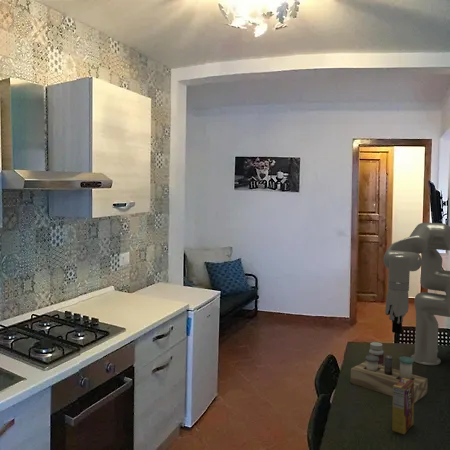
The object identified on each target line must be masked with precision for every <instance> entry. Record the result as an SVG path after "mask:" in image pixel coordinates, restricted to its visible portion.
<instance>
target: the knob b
mask: <svg viewBox="0 0 450 450" xmlns="http://www.w3.org/2000/svg"><path fill="white" fill-rule="evenodd" d="M398 361H399V371H400V377H399V379H400V380H401V379H402V378H405V379H410V380H412V374H413V364H414V363H415V362H414V359H413V358H411V356H410V357H409V356H404V355H403V356H399V357H398Z"/></svg>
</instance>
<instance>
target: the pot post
mask: <svg viewBox="0 0 450 450" xmlns="http://www.w3.org/2000/svg"><path fill="white" fill-rule="evenodd" d="M384 366H385V368H384V373H385V374H387V375H392V369H394V368H393V367H394V358H393V356H392V355H389V354H386V355H385V357H384Z"/></svg>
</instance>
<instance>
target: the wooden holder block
mask: <svg viewBox="0 0 450 450" xmlns="http://www.w3.org/2000/svg"><path fill="white" fill-rule="evenodd" d="M366 362H367V360H365V361H363V362H362V363H360V364H357V365H355V366H353V367H351V368H350V384H353V385H356V386H359V387H362V388H365V389H368V390H371V391H373V392H374V391H375V392H377V393H380V394H384V395H387V396H390V397H392V398H393V386H394V385H395V384H396V383H397V382H398V381H400V379H399V377H400V369H395V368H393V369H392V375H387V374H385V373H384V368H385V365H383V366H382V365H378V371H376V372H372V371H369V370H366ZM412 380H413V381H414V404H415V403H416V402H418V401H419V400H420V399H422V398H423V397H425V396H426V395H427V394H428V378H426V377H423V376H420V375H416V374H413V373H412Z"/></svg>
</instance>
